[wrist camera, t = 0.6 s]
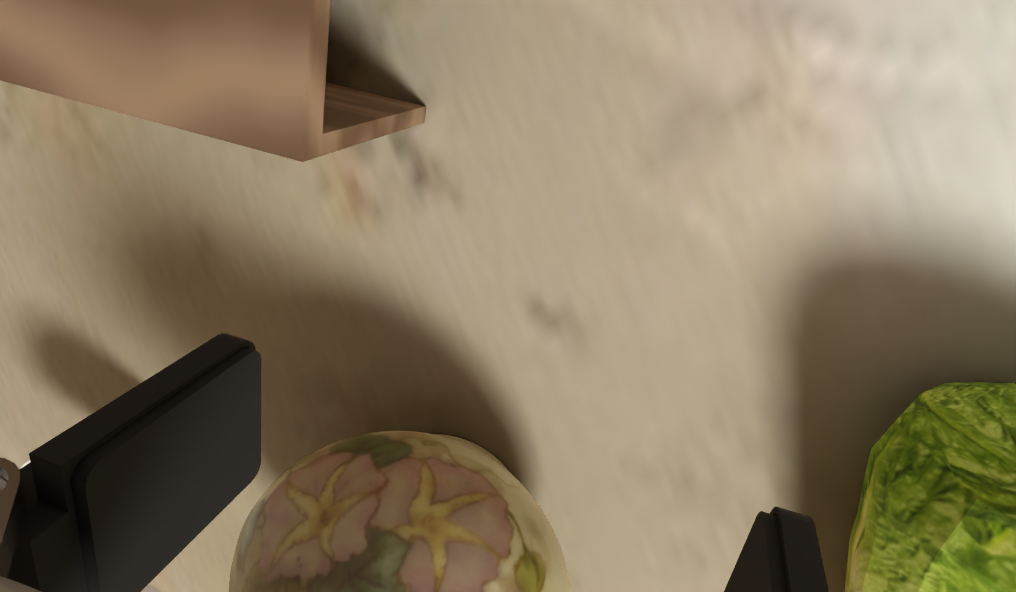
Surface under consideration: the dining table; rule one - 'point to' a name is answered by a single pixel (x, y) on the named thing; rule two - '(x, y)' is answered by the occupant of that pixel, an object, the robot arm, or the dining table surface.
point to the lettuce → (940, 496)
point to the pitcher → (398, 523)
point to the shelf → (200, 69)
